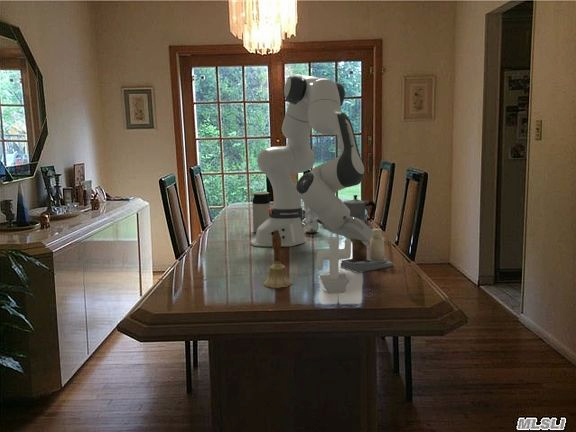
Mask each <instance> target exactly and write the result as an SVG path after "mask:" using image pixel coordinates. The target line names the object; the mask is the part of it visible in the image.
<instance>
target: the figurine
mask: <svg viewBox="0 0 576 432" xmlns="http://www.w3.org/2000/svg"><path fill="white" fill-rule="evenodd" d="M339 238H340V237H337V236H332V237H328V240H327V241H328V243H327V244H328V249H319V250H317V252H316V269H317V270H319V271H322V270H323V268H324V267H323V266H324V265H323V264H324V261H328V260H329V262H328V263H329V264H328V265H329V266H328V267H329V272H328V274H319V275H318V277H319V278H320V281H321V283H322V286H323V288H324V290H325V289H326V290H325V291H326V293H327V294H342V293H344V292H345V291H346V289H347V287H348V285H349V284H350V281H351V280H350V279H349V278H348V276H347V275H346V274H345V273H339V266H340V265H339V260H347V259H351V257H352V256H351V255H352V242H351V240H350V239H348V238H345V239H344V248H339V245H340V239H339Z"/></svg>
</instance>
